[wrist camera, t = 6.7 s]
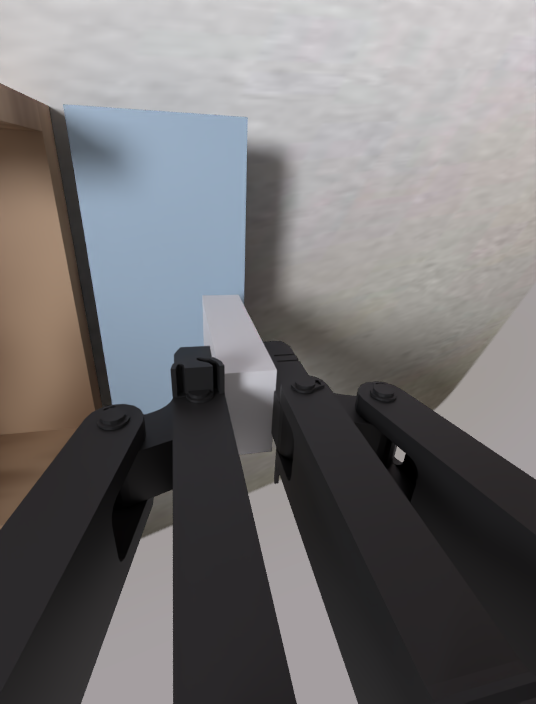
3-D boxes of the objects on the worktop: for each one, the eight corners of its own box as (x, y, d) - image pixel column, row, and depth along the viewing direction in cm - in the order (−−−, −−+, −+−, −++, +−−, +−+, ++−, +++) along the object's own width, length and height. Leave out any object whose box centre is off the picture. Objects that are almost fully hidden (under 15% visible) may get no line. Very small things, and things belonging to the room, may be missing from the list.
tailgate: (119, 451, 20) (241, 445, 21) (63, 104, 13) (247, 117, 14) (127, 430, 21) (239, 426, 22) (79, 111, 15) (244, 122, 15)
